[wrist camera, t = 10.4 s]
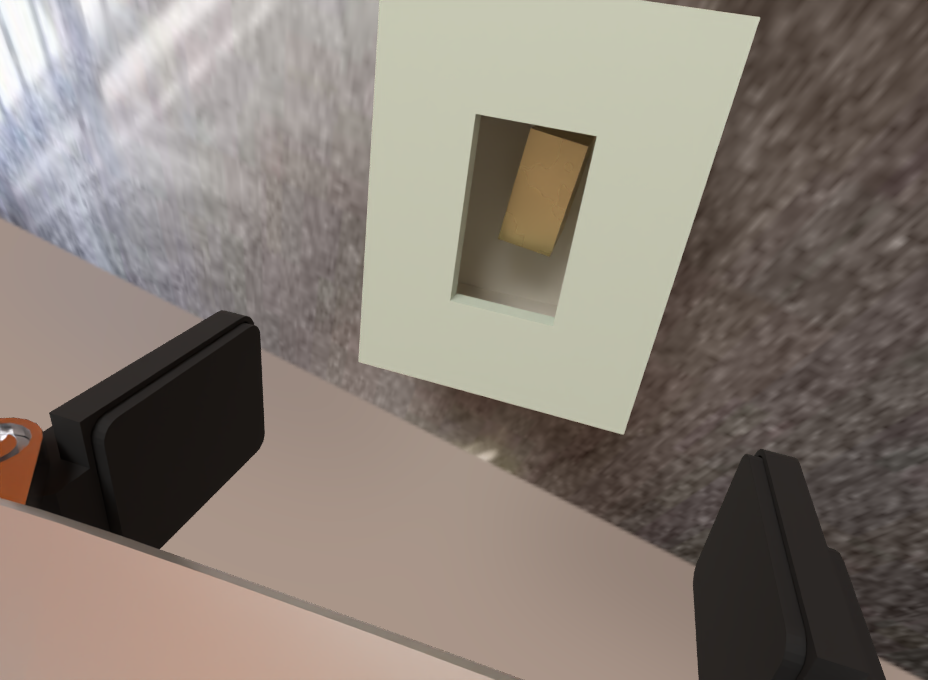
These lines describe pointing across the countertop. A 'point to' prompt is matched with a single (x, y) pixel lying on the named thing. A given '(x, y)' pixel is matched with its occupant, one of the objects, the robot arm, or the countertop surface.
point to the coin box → (493, 176)
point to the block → (545, 188)
